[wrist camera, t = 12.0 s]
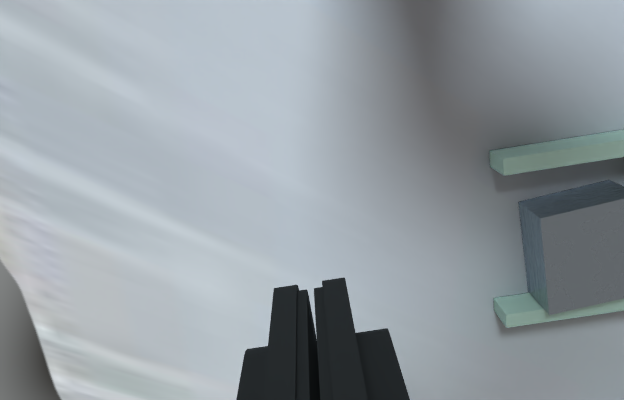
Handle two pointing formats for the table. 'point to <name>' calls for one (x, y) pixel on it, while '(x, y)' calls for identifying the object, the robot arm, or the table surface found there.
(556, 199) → the gray rectangular block
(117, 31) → the table surface
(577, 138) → the bay
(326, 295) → the robot arm
